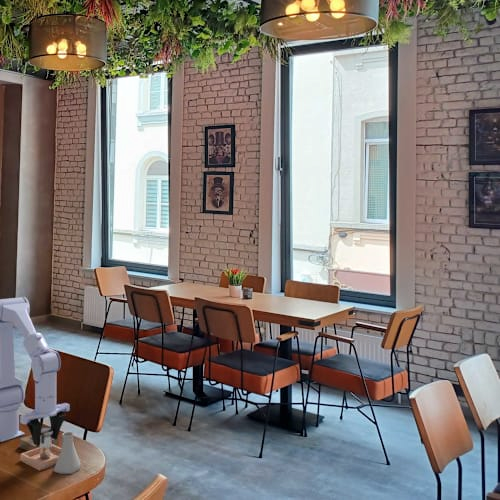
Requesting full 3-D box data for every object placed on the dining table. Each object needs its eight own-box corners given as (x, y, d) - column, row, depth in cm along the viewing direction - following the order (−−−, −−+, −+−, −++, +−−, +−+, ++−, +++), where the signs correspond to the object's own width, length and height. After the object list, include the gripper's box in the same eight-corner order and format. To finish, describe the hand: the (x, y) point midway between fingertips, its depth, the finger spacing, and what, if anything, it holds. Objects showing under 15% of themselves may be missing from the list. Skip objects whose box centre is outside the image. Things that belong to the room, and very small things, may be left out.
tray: (20, 460, 161) (20, 453, 161) (50, 449, 169) (50, 443, 169) (40, 470, 155) (40, 463, 155) (70, 459, 163) (70, 452, 163)
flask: (73, 476, 153) (73, 440, 152) (48, 473, 154) (48, 437, 154) (85, 464, 160) (86, 430, 159) (62, 461, 161) (62, 427, 161)
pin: (34, 457, 162) (35, 430, 162) (48, 453, 166) (48, 426, 165) (43, 461, 160) (43, 434, 159) (56, 457, 163) (56, 430, 163)
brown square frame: (19, 447, 170) (19, 438, 170) (43, 438, 177) (43, 431, 177) (34, 454, 166) (34, 446, 165) (58, 445, 172) (58, 437, 172)
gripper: (30, 404, 153) (30, 453, 154) (76, 391, 164) (75, 437, 165) (16, 398, 157) (16, 446, 158) (61, 386, 169) (61, 431, 169)
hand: (45, 441), depth 162 cm, fingers open, 5 cm apart
